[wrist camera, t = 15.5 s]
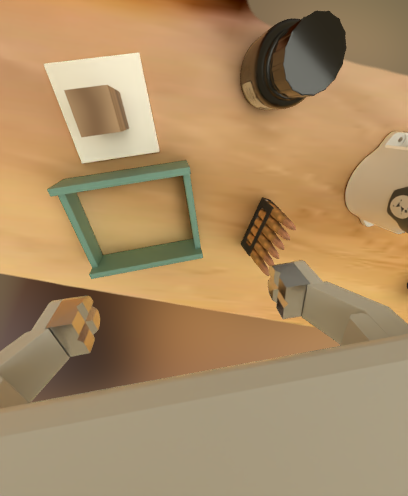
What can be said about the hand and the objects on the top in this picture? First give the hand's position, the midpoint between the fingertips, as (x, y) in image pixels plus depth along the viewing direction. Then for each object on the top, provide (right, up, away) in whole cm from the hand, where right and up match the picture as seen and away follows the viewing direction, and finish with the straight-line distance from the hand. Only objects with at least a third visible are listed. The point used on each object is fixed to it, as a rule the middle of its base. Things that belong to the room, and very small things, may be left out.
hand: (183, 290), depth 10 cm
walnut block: (-13, +21, +21) cm, 32 cm away
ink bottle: (+11, +28, +23) cm, 38 cm away
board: (-13, +22, +22) cm, 33 cm away
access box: (-11, +8, +30) cm, 33 cm away
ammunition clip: (+11, +7, +35) cm, 38 cm away
